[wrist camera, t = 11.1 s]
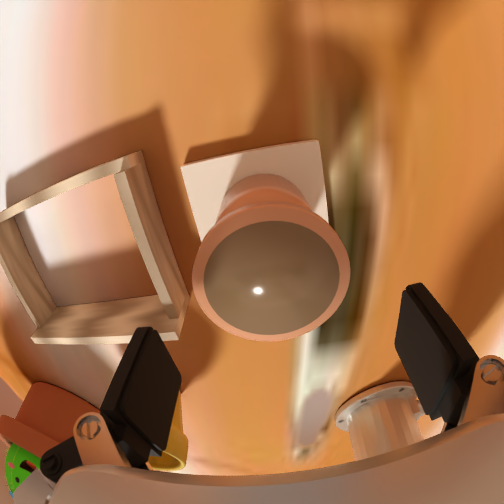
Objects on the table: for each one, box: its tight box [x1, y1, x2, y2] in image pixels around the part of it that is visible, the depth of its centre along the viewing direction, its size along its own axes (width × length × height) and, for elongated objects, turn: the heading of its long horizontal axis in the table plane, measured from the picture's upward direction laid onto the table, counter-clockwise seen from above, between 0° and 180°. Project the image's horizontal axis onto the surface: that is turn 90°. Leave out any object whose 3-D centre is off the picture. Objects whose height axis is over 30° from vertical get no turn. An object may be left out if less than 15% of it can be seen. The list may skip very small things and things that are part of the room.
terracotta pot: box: [192, 174, 350, 341], centre depth 15 cm, size 7×7×8 cm
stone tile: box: [181, 139, 329, 242], centre depth 19 cm, size 9×9×1 cm
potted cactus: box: [0, 382, 101, 498], centre depth 25 cm, size 22×22×25 cm
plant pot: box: [148, 390, 188, 471], centre depth 26 cm, size 10×10×10 cm
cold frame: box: [0, 150, 190, 344], centre depth 19 cm, size 17×13×5 cm
